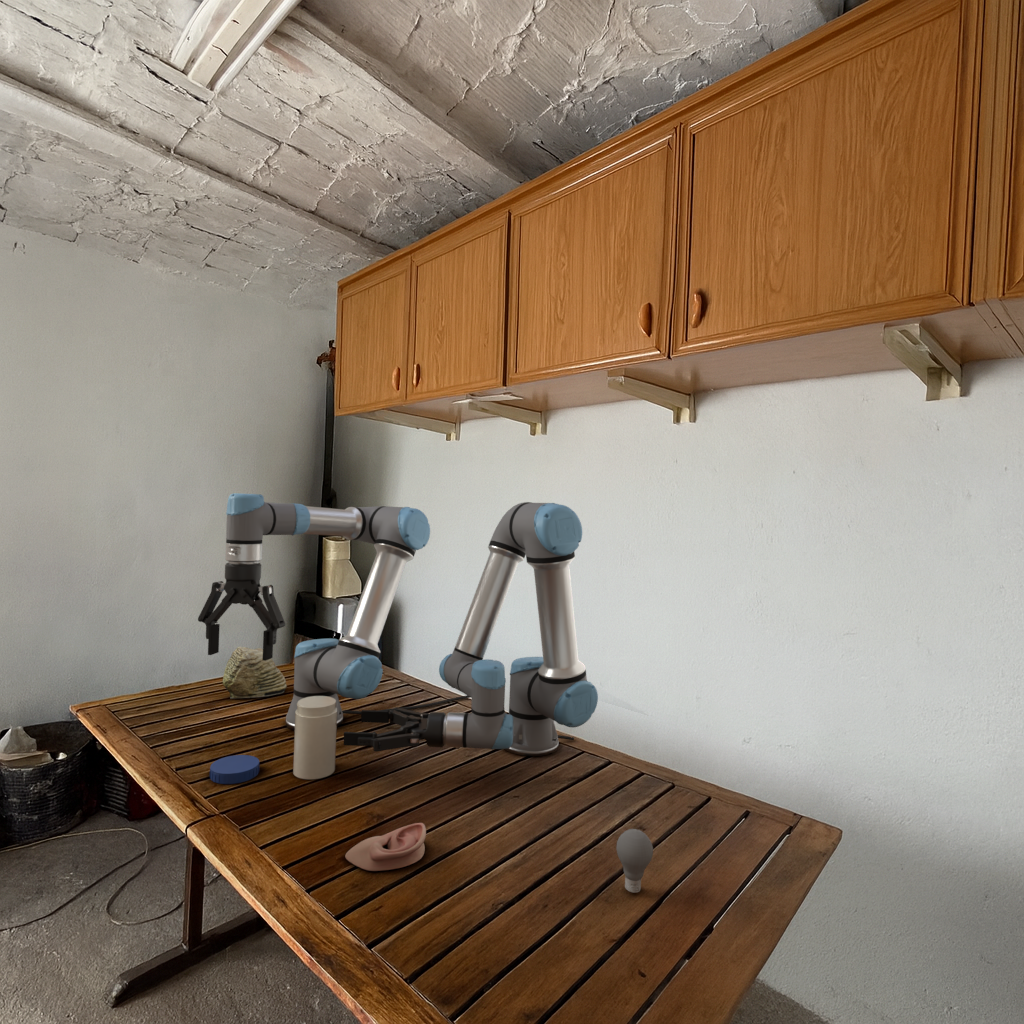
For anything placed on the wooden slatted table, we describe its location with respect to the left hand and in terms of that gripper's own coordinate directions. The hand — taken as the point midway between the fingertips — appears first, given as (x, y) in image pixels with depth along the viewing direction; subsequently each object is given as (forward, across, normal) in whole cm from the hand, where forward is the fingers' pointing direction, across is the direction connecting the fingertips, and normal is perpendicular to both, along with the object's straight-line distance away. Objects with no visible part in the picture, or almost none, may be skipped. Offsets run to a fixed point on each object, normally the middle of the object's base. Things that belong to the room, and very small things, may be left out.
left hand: (240, 656), depth 142 cm
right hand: (+16, +24, +7) cm, 30 cm away
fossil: (+27, -29, +51) cm, 64 cm away
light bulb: (+27, +88, -21) cm, 94 cm away
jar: (+27, +16, +6) cm, 32 cm away
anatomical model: (+27, +45, -21) cm, 56 cm away
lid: (+25, 0, 0) cm, 25 cm away
